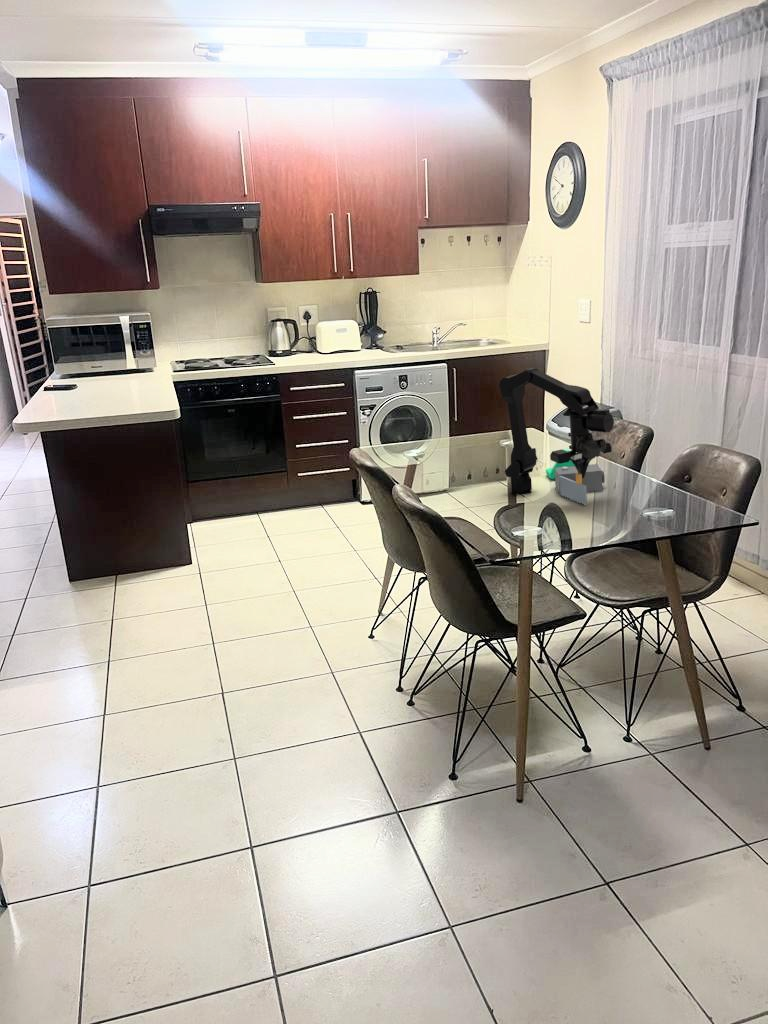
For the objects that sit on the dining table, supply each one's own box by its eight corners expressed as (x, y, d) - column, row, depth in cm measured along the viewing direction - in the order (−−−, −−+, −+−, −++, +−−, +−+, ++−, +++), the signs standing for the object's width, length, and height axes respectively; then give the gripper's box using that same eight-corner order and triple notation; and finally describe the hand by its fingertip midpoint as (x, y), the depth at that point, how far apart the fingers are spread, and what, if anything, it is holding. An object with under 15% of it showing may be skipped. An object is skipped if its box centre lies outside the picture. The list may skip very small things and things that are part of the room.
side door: (558, 494, 248) (557, 466, 245) (561, 493, 248) (560, 466, 245) (584, 505, 235) (583, 476, 232) (587, 504, 235) (586, 475, 232)
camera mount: (578, 471, 270) (578, 444, 267) (584, 477, 263) (584, 449, 260) (545, 475, 270) (544, 448, 267) (550, 481, 263) (549, 453, 260)
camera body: (559, 494, 248) (558, 472, 246) (555, 487, 256) (554, 466, 253) (606, 490, 247) (605, 468, 244) (600, 483, 254) (600, 461, 252)
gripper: (566, 440, 222) (569, 490, 227) (621, 428, 226) (623, 477, 231) (547, 434, 232) (551, 481, 237) (600, 422, 236) (602, 469, 241)
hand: (582, 477), depth 236 cm, fingers closed
